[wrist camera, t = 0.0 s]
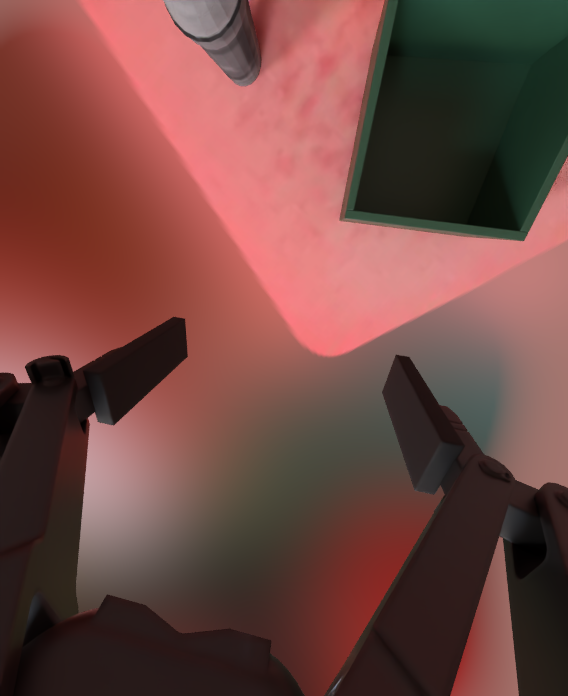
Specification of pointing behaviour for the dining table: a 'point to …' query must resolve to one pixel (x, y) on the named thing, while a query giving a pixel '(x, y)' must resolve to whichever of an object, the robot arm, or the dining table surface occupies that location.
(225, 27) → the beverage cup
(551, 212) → the dining table surface
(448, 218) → the green open box
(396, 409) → the robot arm
